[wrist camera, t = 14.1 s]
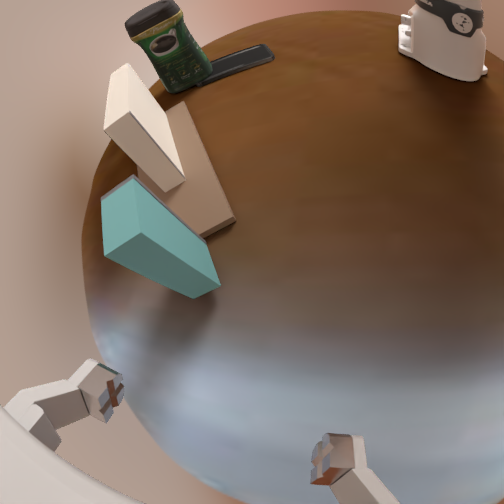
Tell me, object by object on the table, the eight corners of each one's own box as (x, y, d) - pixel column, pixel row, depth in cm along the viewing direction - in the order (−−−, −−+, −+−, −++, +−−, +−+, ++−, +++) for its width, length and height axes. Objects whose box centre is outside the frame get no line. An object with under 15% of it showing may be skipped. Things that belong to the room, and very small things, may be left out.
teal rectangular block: (179, 255, 27) (100, 197, 17) (205, 241, 27) (133, 173, 17) (193, 299, 25) (103, 256, 15) (221, 285, 25) (141, 231, 14)
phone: (193, 69, 44) (264, 42, 41) (195, 73, 45) (265, 47, 42) (195, 85, 41) (275, 56, 38) (197, 90, 42) (277, 61, 39)
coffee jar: (212, 62, 44) (174, -9, 28) (216, 78, 41) (171, -4, 24) (169, 82, 46) (125, 16, 29) (167, 100, 43) (116, 27, 26)
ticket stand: (136, 135, 41) (93, 85, 29) (185, 105, 40) (148, 47, 28) (158, 263, 29) (71, 209, 18) (236, 220, 28) (172, 135, 17)
